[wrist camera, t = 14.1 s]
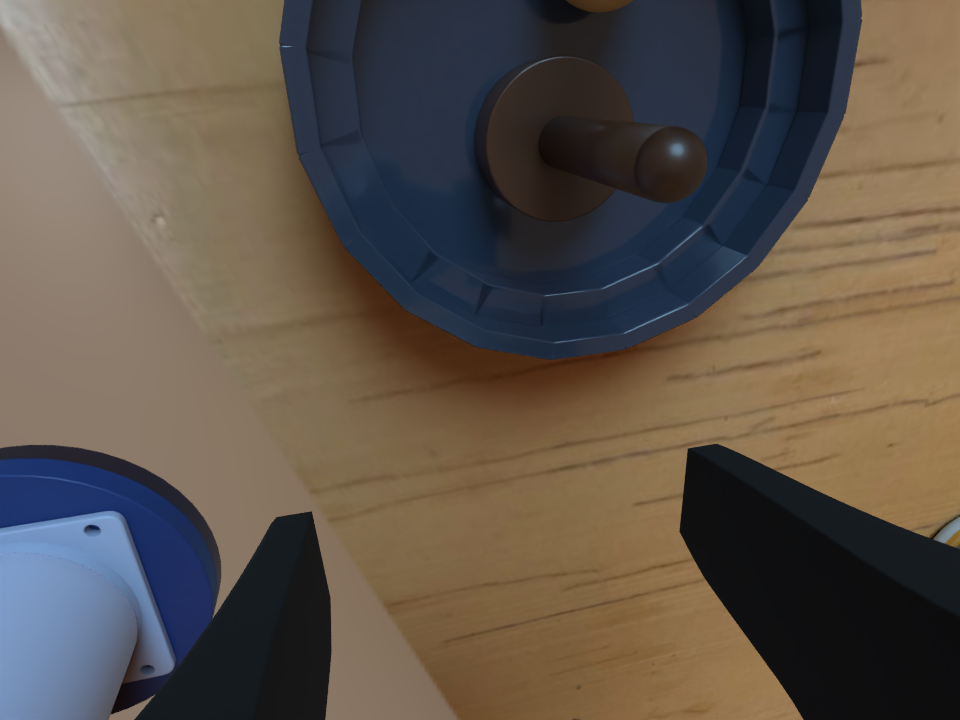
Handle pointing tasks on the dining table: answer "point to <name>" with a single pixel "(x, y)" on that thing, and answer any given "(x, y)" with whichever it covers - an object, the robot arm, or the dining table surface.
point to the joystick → (577, 142)
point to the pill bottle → (950, 534)
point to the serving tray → (615, 223)
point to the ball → (599, 5)
